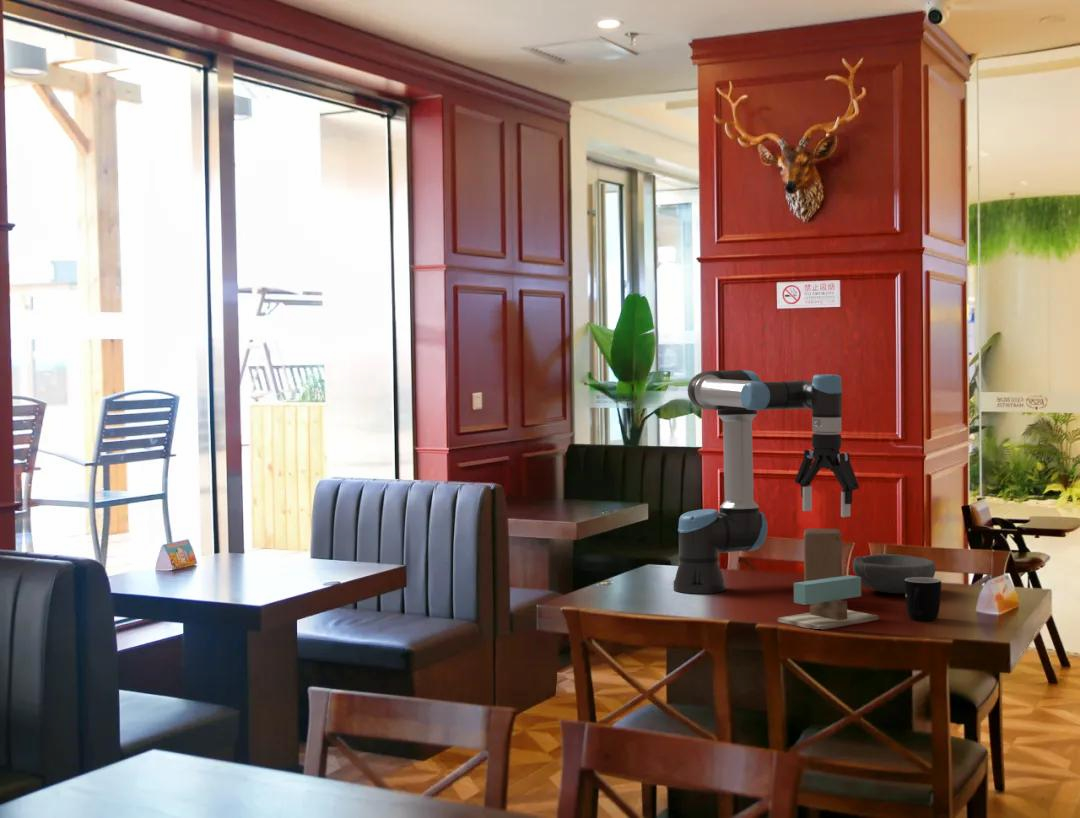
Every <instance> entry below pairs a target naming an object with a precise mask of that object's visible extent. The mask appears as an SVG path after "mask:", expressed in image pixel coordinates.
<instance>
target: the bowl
mask: <svg viewBox="0 0 1080 818" xmlns="http://www.w3.org/2000/svg"><path fill="white" fill-rule="evenodd" d="M851 564H852V571H853V572H854V574H855V576H858V577H861V585H864V587H867V588H868V589H871V590H874V591H877V592H881V593H885V594H886V593H887V594H896V595H897V594H899V595H905V579H906V578H911V577H928V578H935V573H936V567H937V566H936V563H935V562H934V560H932V559H929V558H925V557H918V556H913V555H905V554H891V553H887V554H886V553H880V554H870V555H864V556H855V557H854V558H853V561H852V563H851Z"/></svg>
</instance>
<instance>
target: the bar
mask: <svg viewBox="0 0 1080 818" xmlns="http://www.w3.org/2000/svg"><path fill="white" fill-rule="evenodd" d="M858 597H862V583H861V577H858V576H856V575H851V574H850V575H847V574H846V575H842V576H840V577H833V578H826V579H818V580H811V581H798V582H793V603H795V604H798V605H805V606H807V605H808V604H814V603H821V602H827V601H834V600H840V599H842V600H845V599H852V598H858ZM808 606H809V605H808Z"/></svg>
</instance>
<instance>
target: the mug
mask: <svg viewBox="0 0 1080 818" xmlns="http://www.w3.org/2000/svg"><path fill="white" fill-rule="evenodd" d="M904 595H905V605H906V610H907V614H908V616H909V618H910V620H912V621H917V622H933V621H936V620H937V618H938V617H939V613H940V608H941V607H940V606H941V598H942V597H941V595H942V580H941V579H939V578H935V577H933V578H928V577H911V578H906V579H905V594H904Z"/></svg>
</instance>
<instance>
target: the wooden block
mask: <svg viewBox="0 0 1080 818" xmlns="http://www.w3.org/2000/svg"><path fill="white" fill-rule="evenodd" d="M842 539H843V538H842V533H841V530H839V529H838V528H806V529H804V531H803V554H804V555H803V560H804V561H803V562H804V563H803V569H804V570H803V572H804V578H803V579H804V581H811V580H818V579H826V578H833V577H840V576H843V568H842V567H843V562H842V561H843V559H842V558H843V553H842V552H843V551H842V549H843V547H842V545H843V544H842V543H843V542H842V541H843V540H842ZM804 581H803V582H804ZM840 600H842V601H843V599H840ZM808 606H810V604H808Z"/></svg>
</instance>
